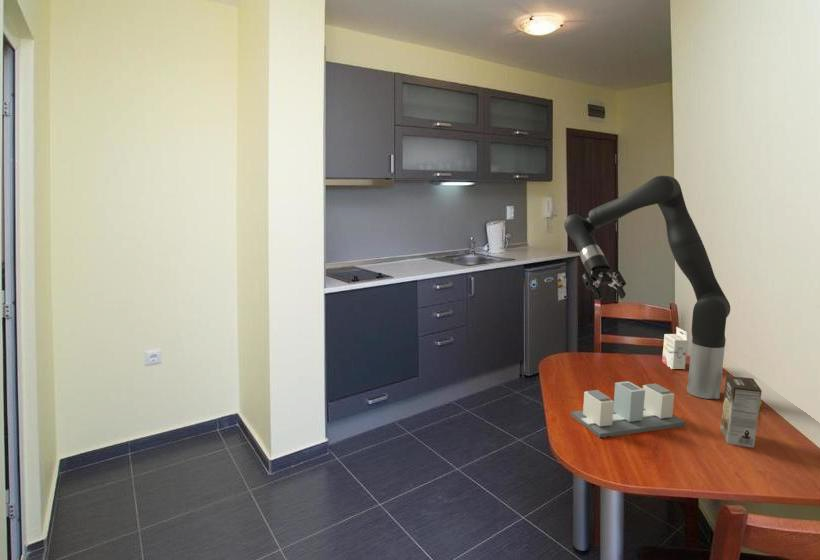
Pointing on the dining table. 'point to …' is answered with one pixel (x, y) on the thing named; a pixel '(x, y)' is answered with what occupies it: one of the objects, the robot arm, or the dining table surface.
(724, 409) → the coffee box
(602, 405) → the module
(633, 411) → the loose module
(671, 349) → the ink cartridge box
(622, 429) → the mounting board
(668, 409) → the module
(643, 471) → the dining table surface
